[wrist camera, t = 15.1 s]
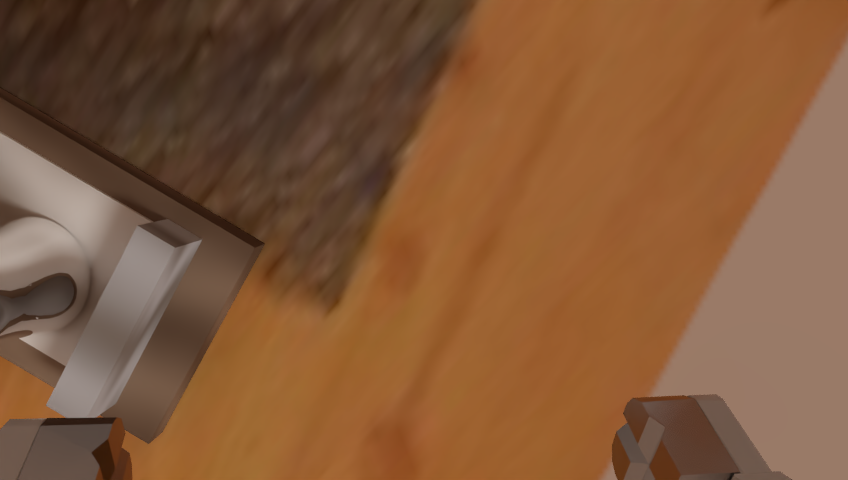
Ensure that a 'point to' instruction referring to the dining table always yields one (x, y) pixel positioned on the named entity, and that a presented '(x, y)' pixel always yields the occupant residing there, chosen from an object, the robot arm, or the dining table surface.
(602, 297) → the dining table surface
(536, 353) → the dining table surface
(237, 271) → the rail board
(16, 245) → the beer glass
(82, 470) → the robot arm
